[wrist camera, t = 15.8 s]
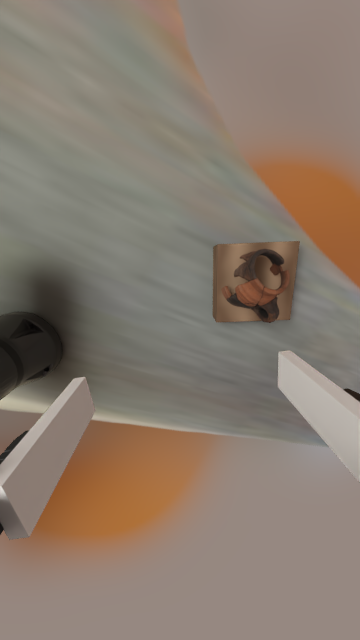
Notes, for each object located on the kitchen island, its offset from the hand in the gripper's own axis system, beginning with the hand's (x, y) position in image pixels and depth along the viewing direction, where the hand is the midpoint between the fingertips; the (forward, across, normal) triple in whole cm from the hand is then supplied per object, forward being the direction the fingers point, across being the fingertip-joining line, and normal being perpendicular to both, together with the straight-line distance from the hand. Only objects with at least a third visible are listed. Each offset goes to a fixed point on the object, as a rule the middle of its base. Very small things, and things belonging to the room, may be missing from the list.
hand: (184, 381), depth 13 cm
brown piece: (+25, +13, 0) cm, 28 cm away
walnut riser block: (+28, +15, +2) cm, 32 cm away
